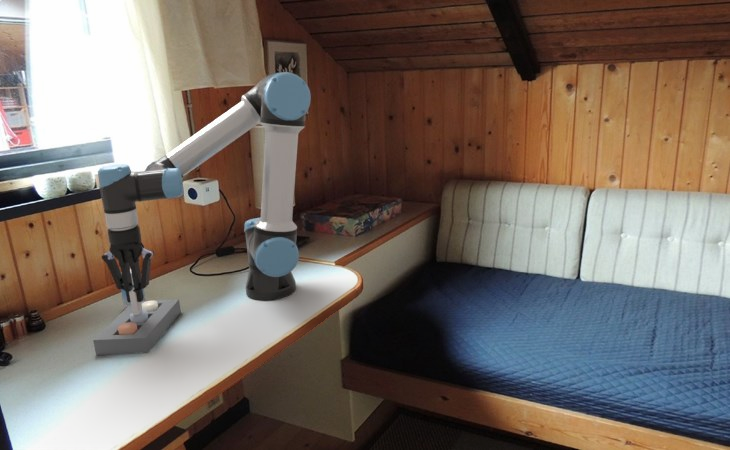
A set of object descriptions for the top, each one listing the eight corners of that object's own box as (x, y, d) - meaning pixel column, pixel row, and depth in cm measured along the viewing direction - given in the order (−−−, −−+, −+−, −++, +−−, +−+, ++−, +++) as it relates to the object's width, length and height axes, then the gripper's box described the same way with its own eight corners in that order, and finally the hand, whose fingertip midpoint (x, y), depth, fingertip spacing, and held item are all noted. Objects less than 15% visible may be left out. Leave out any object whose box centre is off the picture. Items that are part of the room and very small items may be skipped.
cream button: (161, 313, 161) (159, 300, 160) (156, 320, 157) (153, 306, 156) (146, 314, 161) (144, 300, 160) (140, 320, 157) (137, 307, 156)
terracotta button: (141, 336, 147) (139, 321, 146) (134, 344, 143) (132, 329, 142) (125, 336, 148) (122, 322, 146) (117, 344, 143) (114, 330, 142)
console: (181, 312, 164) (179, 299, 163) (148, 352, 141) (145, 337, 139) (136, 314, 164) (133, 301, 163) (96, 354, 141) (93, 340, 140)
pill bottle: (139, 311, 166) (132, 274, 163) (120, 310, 167) (113, 274, 164) (150, 303, 172) (144, 267, 169) (132, 302, 173) (126, 267, 170)
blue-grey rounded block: (152, 323, 154) (149, 310, 153) (145, 331, 150) (143, 317, 149) (136, 324, 154) (133, 310, 153) (129, 331, 150) (126, 317, 149)
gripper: (154, 221, 148) (167, 306, 154) (104, 223, 149) (119, 308, 155) (142, 229, 141) (156, 318, 147) (90, 231, 141) (107, 320, 148)
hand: (137, 312), depth 151 cm, fingers closed
